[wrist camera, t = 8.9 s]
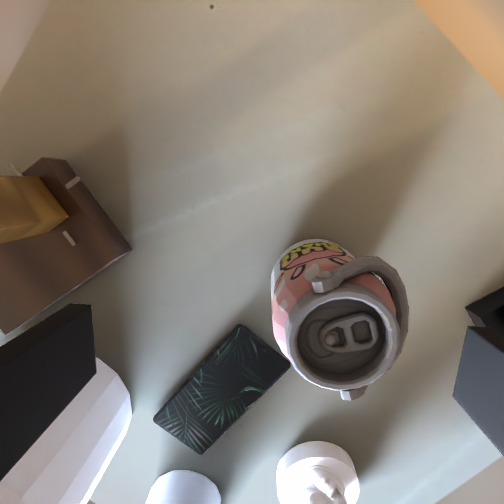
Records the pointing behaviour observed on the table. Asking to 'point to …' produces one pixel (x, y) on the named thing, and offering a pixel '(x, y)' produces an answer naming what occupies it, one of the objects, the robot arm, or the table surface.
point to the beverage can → (337, 315)
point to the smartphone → (221, 389)
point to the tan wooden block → (27, 208)
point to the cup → (183, 489)
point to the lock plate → (56, 249)
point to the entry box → (489, 311)
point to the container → (73, 446)
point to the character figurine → (317, 475)
